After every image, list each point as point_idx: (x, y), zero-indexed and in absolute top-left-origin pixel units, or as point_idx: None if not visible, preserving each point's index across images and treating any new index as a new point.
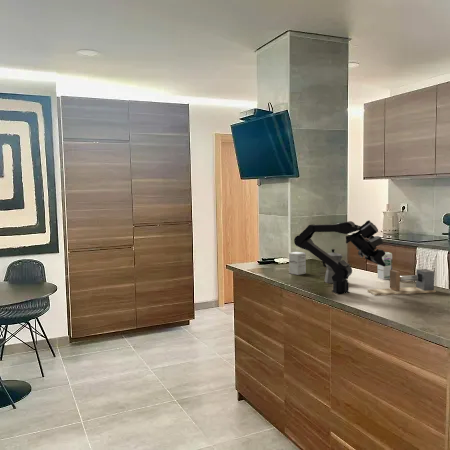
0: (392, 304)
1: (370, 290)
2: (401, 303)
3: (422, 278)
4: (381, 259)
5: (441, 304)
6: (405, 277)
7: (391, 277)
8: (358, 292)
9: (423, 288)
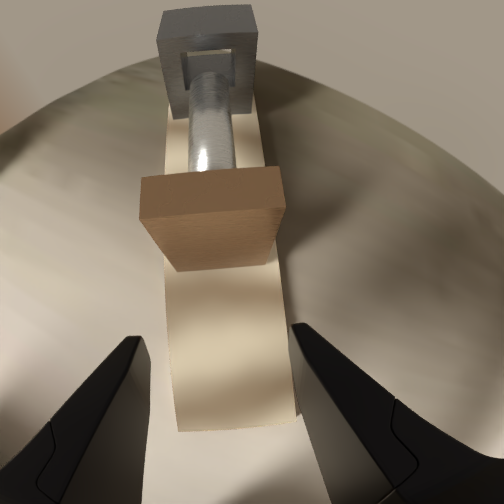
0: (468, 364)
1: (206, 422)
2: (457, 317)
3: (185, 63)
4: (417, 439)
5: (450, 163)
6: (230, 143)
7: (188, 243)
8: (197, 484)
9: (246, 107)
